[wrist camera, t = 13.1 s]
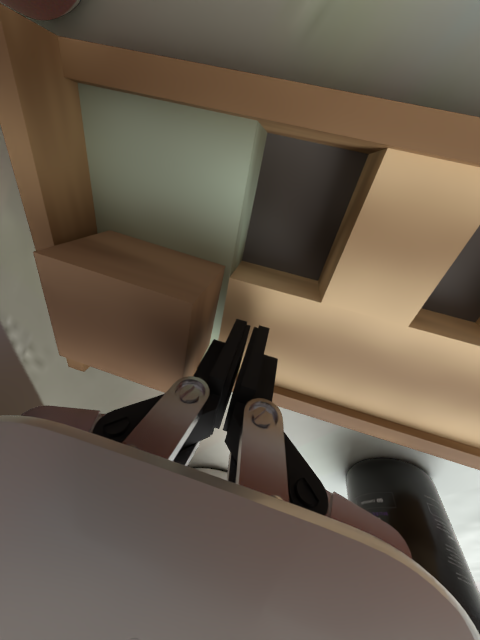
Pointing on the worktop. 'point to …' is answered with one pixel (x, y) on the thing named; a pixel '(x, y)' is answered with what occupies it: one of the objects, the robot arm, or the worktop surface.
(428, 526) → the supplement bottle
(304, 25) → the worktop surface
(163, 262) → the walnut block
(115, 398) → the worktop surface
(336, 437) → the worktop surface
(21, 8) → the beverage can
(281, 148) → the trap trough
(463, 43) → the worktop surface
